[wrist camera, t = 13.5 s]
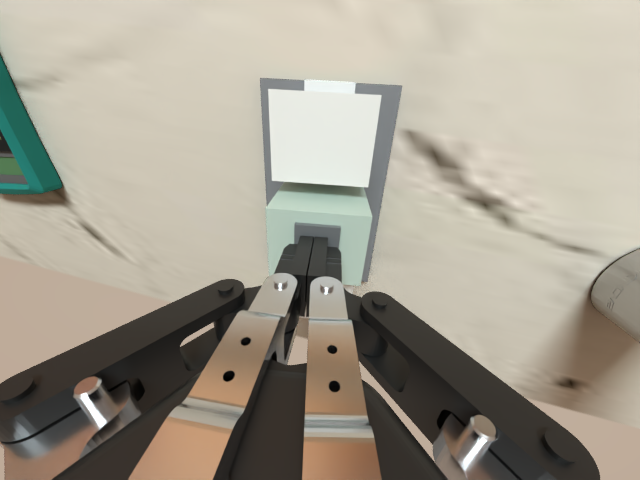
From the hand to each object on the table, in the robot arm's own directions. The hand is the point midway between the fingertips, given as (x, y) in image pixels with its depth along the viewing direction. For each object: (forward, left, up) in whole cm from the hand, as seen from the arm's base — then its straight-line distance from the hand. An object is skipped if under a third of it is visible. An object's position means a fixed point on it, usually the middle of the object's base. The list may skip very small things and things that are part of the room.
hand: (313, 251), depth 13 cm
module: (0, 0, -8) cm, 8 cm away
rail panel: (0, 0, -10) cm, 10 cm away
